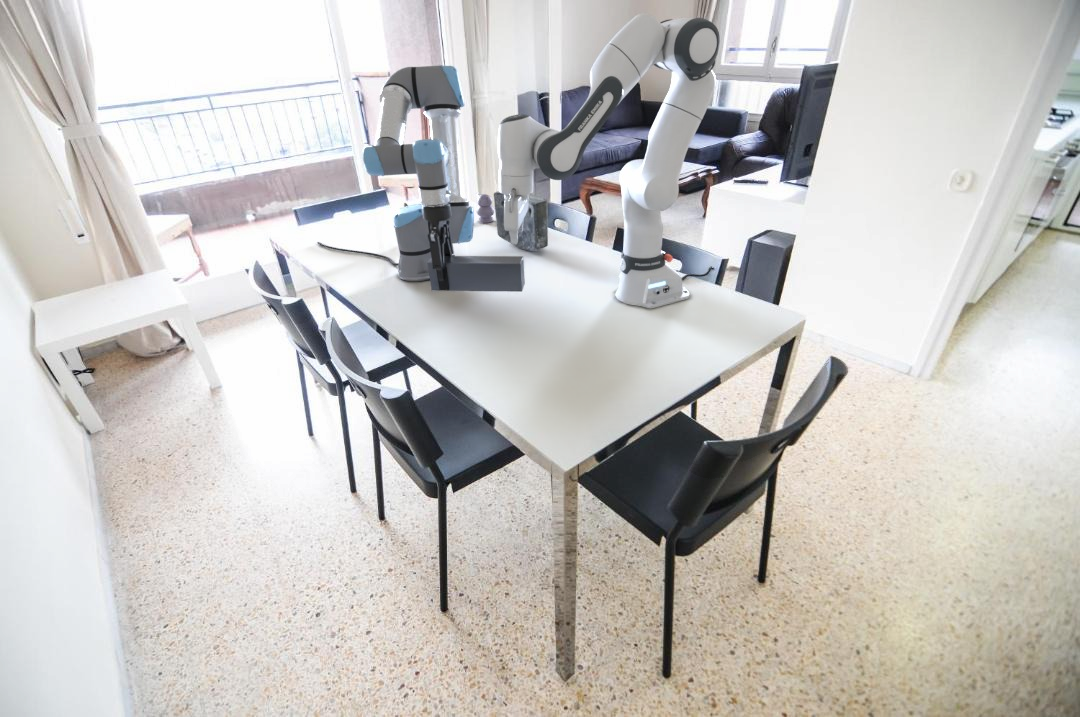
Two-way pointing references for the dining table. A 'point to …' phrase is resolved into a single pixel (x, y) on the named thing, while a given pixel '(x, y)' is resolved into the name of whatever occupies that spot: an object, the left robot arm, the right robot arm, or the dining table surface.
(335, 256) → the dining table surface
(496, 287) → the bar
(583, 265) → the dining table surface
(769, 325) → the dining table surface
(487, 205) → the purple stacked rounded piece
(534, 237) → the concrete block
